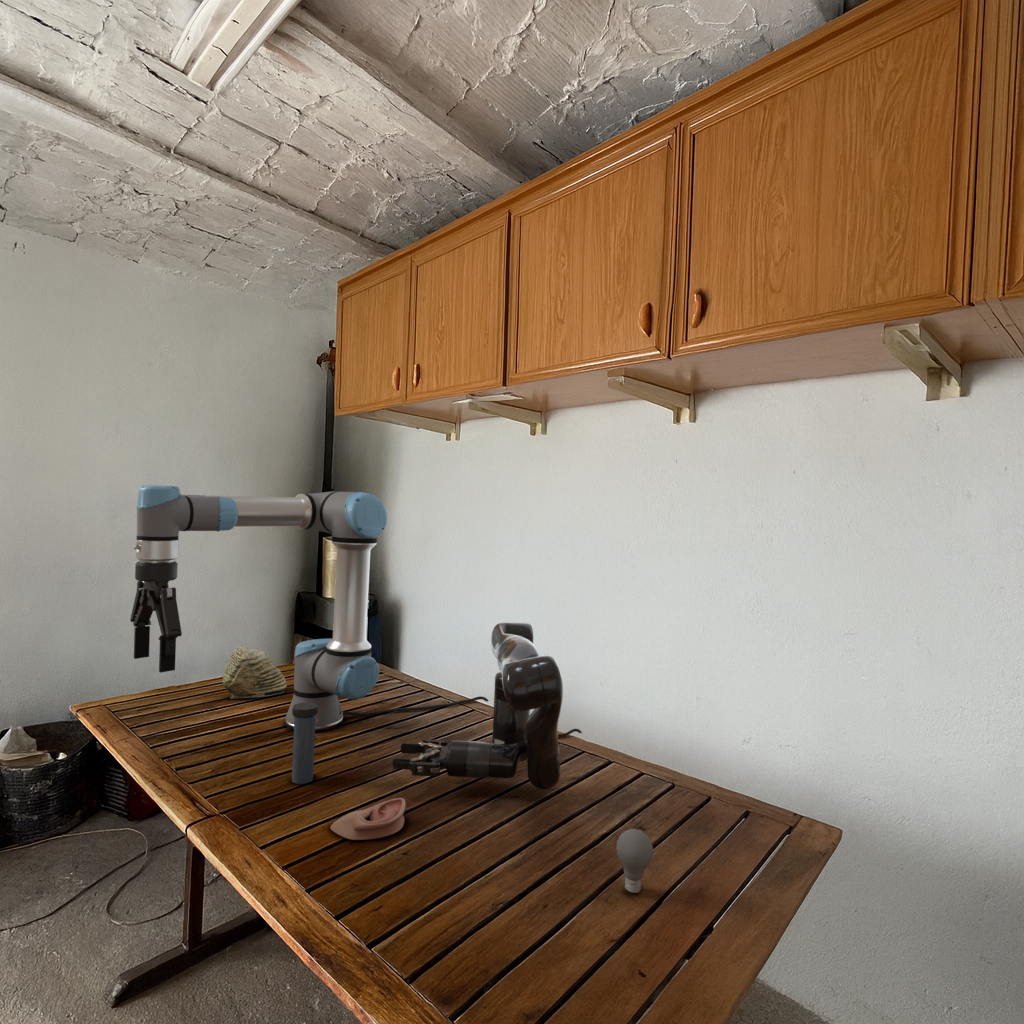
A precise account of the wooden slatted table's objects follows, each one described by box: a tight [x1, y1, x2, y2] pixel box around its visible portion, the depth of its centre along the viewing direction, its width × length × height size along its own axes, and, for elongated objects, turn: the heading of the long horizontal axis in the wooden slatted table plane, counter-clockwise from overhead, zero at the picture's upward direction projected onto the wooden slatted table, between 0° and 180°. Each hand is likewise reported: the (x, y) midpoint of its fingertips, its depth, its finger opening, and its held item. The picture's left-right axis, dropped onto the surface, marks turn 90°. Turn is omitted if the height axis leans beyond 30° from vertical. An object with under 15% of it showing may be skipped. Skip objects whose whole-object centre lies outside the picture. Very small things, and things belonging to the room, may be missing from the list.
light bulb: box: [615, 828, 654, 894], centre depth 106 cm, size 6×6×10 cm
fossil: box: [222, 646, 288, 699], centre depth 198 cm, size 9×18×15 cm, turn 132°
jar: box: [291, 715, 316, 785], centre depth 141 cm, size 5×5×16 cm
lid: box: [292, 702, 318, 718], centre depth 141 cm, size 5×5×2 cm
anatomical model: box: [330, 797, 407, 841], centre depth 123 cm, size 13×4×12 cm
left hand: (153, 664), depth 130 cm, fingers open, 13 cm apart
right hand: (397, 755), depth 141 cm, fingers open, 8 cm apart
